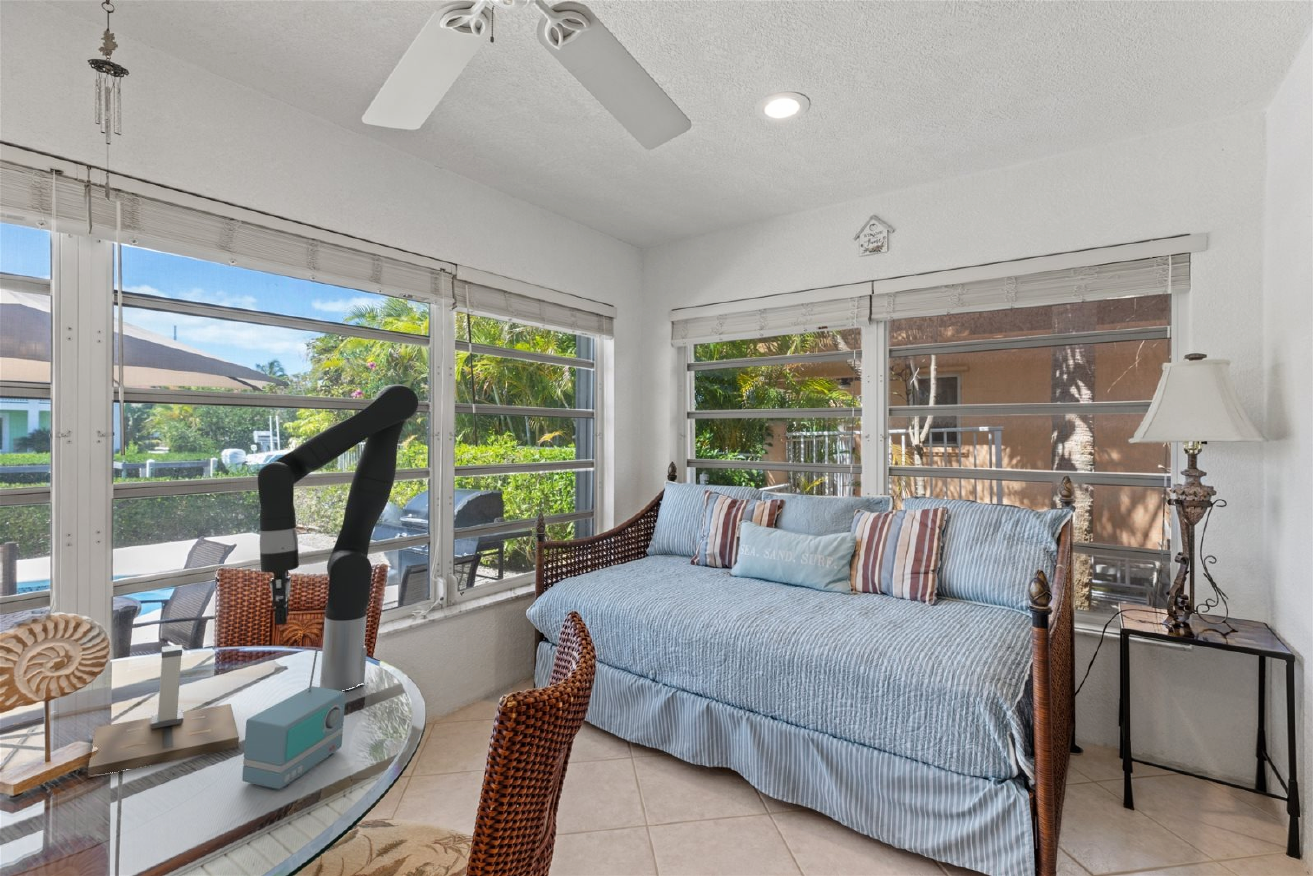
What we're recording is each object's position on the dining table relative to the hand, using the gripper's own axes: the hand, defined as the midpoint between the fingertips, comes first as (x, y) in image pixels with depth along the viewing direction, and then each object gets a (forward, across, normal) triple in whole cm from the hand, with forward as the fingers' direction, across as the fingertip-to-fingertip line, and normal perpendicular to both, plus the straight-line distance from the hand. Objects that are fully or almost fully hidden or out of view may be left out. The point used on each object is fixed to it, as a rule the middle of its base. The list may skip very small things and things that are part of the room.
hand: (282, 620), depth 145 cm
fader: (+15, -9, +20) cm, 27 cm away
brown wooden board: (+18, -13, +20) cm, 29 cm away
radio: (+22, -31, -3) cm, 38 cm away
